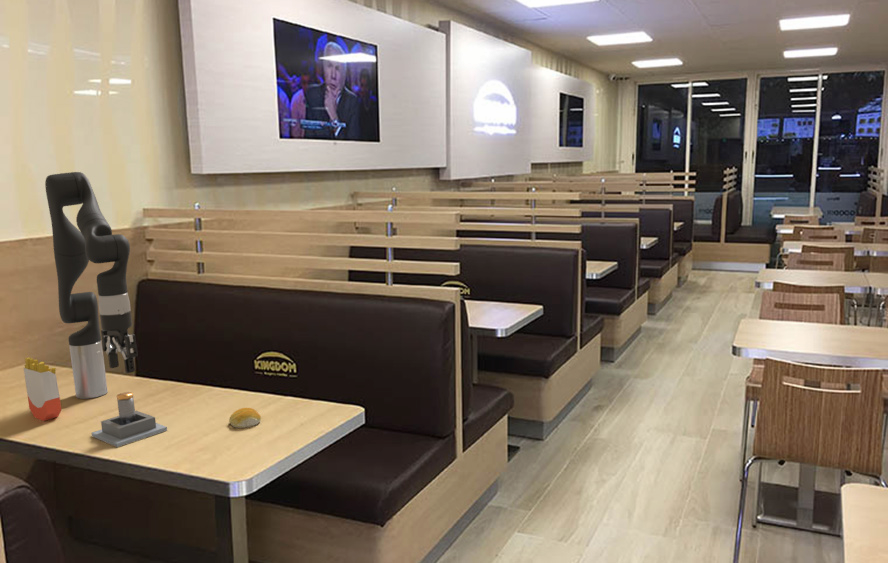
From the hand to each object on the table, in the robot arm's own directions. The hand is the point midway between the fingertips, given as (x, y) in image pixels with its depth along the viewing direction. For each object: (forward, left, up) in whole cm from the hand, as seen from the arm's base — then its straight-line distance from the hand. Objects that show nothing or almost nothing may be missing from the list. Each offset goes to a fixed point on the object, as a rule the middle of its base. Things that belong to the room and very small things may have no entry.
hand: (122, 369), depth 193 cm
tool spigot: (0, 0, -17) cm, 17 cm away
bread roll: (+21, +23, -18) cm, 36 cm away
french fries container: (-35, -7, -18) cm, 40 cm away
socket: (0, 0, -18) cm, 18 cm away
